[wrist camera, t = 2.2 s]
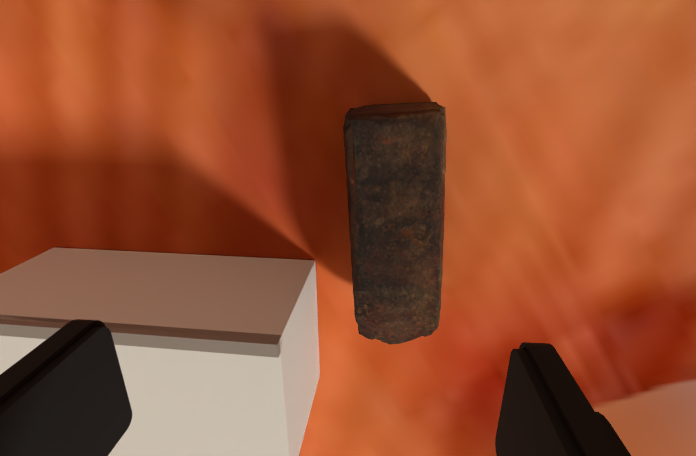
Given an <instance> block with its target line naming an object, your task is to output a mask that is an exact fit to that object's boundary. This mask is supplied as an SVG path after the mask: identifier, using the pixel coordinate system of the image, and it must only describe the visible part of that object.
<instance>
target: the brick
mask: <svg viewBox="0 0 696 456" xmlns="http://www.w3.org/2000/svg"><path fill="white" fill-rule="evenodd" d="M343 128H344V146H345V161H346V172H347V190H348V210H349V226H350V242H351V261H352V278H353V294H354V306H355V318H356V322H357V324H358V330H359V334H361V335H363V336H364V337H366V338H368V339H378V340H381V341H382V342H385V343H388V344H399V343H403V342H407V341H410V340H413V339H416V338H418V337H420V336H428V335H431V334H432V333H433V332H434V331H435V330H436V329H437V328H438V324H439V318H440V308H441V284H442V260H443V236H444V197H445V173H446V138H447V132H446V116H445V107H442V106H440V105H439V104H437V103H436V102H425V103H401V104H382V105H368V106H362V107H359V108H351V109H350V110H349V111H348V112H347V114H346V115H345V123H344V127H343Z"/></svg>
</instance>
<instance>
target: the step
mask: <svg viewBox="0 0 696 456" xmlns="http://www.w3.org/2000/svg"><path fill="white" fill-rule="evenodd" d="M76 319H83V320H99V321H102V322H103V323H104V324H105V326H106V327H107V328H109V329H110V331H111V334H112V338H113V341H114V345H115V349H116V353H117V356H118V360H119V364H120V368H121V371H122V375H123V379H124V383H125V387H126V390H127V394H128V398H129V402H130V405H131V409H132V420H131V423H130V426H129V427H128V429H127V431H126V432H125V433H124V435H123V436H122V437H121V439H120V440H119V441H118V443H117V444H116V445H115V447H114V448H113V450H112V451H111V452H110V454H109V455H108V456H299V453H300V449H301V445H302V441H303V437H304V433H305V430H306V426H307V422H308V418H309V414H310V411H311V407H312V403H313V399H314V395H315V392H316V388H317V384H318V380H319V376H320V365H319V340H318V315H317V289H316V264H315V260H298V259H278V258H257V257H237V256H217V255H197V254H177V253H157V252H136V251H116V250H96V249H76V248H56V247H53V248H51V249H49V250H47V251H45V252H43V253H41V254H39V255H37V256H35V257H33V258H31V259H29V260H27V261H25V262H23V263H21V264H19V265H17V266H15V267H13V268H11V269H9V270H7V271H5V272H3V273H1V274H0V375H1V374H2V373H3V372H4V371H6V370H7V369H8V368H10V367H11V366H12V365H14V364H15V363H16V362H18V361H19V360H20V359H21V358H23V357H24V356H25V355H27V354H28V353H29V352H31V351H32V350H33V349H35V348H36V347H37V346H38V345H40V344H41V343H42V342H44V341H45V340H46V339H48V338H49V337H50V336H52V335H53V334H54V333H55V332H57V331H58V330H59V329H61V328H62V327H63V326H65V325H66V324H67V323H69V322H70V321H72V320H76Z"/></svg>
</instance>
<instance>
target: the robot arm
mask: <svg viewBox="0 0 696 456" xmlns="http://www.w3.org/2000/svg"><path fill="white" fill-rule="evenodd" d="M131 420H132V409H131V405H130V402H129V398H128V394H127V390H126V387H125V383H124V379H123V375H122V371H121V368H120V364H119V360H118V356H117V353H116V349H115V345H114V341H113V338H112V334H111V331H110V329H109V328H107V327H106V326H105V324H104V323H103V322H102V321H99V320H83V319H76V320H72V321H70V322H69V323H67V324H66V325H65V326H63V327H62V328H61V329H59V330H58V331H57V332H55V333H54V334H53V335H52V336H50V337H49V338H48V339H46V340H45V341H44V342H42V343H41V344H40V345H38V346H37V347H36V348H35V349H33V350H32V351H31V352H29V353H28V354H27V355H25V356H24V357H23V358H21V359H20V360H19V361H18V362H16V363H15V364H14V365H12V366H11V367H10V368H8V369H7V370H6V371H4V372H3V373H2V374H1V375H0V456H108V455H109V454H110V452H111V451H112V450H113V448H114V447H115V445H116V444H117V443H118V441H119V440H120V439H121V437H122V436H123V435H124V433H125V432H126V431H127V429H128V427H129V426H130V423H131ZM495 445H496V454H497V456H631V455H630V453H629V452H628V450H627V449H626V447H625V446H624V444H623V443H622V441H621V440H620V438H619V436H618V435H617V433H616V432H615V431H614V429H613V427H612V426H611V424H610V423H609V422H608V420H607V419H606V418H605V417H604V416H603V415H602V414H600V413H599V412H595V411H594V410H593V408H592V407H591V405H590V403H589V402H588V400H587V399H586V397H585V395H584V394H583V392H582V391H581V389H580V388H579V386H578V384H577V383H576V381H575V380H574V378H573V376H572V375H571V373H570V372H569V370H568V369H567V367H566V365H565V364H564V362H563V361H562V359H561V357H560V356H559V354H558V353H557V351H556V350H555V348H554V347H553V346H552V345H551V344H545V343H525V342H524V343H522V344H521V345H520V348H519V349H513V350H512V352H511V356H510V361H509V367H508V372H507V378H506V383H505V389H504V395H503V400H502V406H501V411H500V417H499V422H498V428H497V434H496V441H495Z"/></svg>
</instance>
